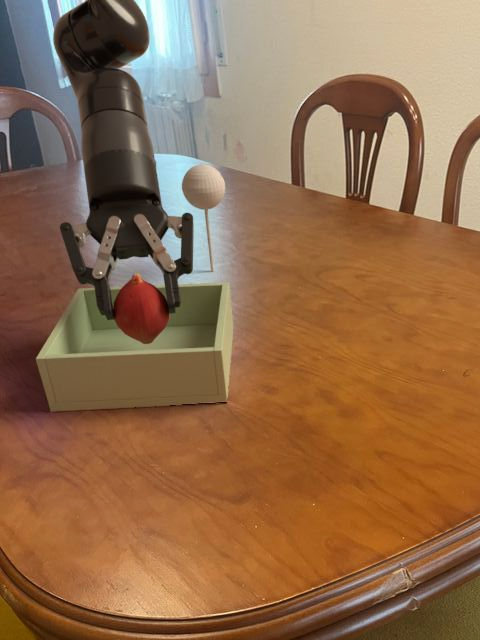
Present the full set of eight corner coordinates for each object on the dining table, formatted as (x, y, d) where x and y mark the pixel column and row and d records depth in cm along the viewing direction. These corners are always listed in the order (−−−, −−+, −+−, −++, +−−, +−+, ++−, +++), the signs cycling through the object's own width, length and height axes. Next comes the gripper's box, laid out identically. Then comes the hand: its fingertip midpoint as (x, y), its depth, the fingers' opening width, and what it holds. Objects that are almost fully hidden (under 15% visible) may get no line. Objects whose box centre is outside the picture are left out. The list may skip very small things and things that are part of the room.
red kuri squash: (108, 346, 71) (93, 276, 67) (148, 327, 75) (136, 259, 71) (145, 360, 69) (132, 288, 64) (184, 339, 73) (174, 270, 68)
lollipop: (208, 261, 101) (196, 158, 93) (240, 267, 99) (231, 162, 91) (184, 275, 96) (169, 167, 88) (217, 281, 94) (206, 171, 86)
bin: (50, 412, 66) (35, 358, 62) (88, 334, 80) (78, 288, 77) (227, 403, 67) (221, 350, 63) (233, 328, 81) (229, 282, 78)
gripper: (42, 151, 66) (61, 308, 63) (186, 142, 69) (211, 292, 66) (58, 192, 73) (76, 334, 70) (188, 182, 76) (210, 319, 73)
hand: (141, 313), depth 68 cm, fingers closed on red kuri squash, 5 cm apart
